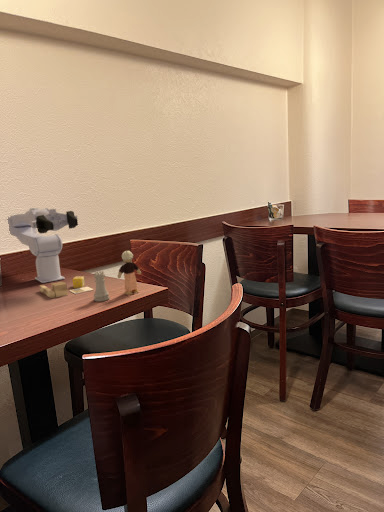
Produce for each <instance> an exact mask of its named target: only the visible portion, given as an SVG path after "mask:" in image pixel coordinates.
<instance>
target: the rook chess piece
mask: <svg viewBox="0 0 384 512" xmlns="http://www.w3.org/2000/svg"><path fill="white" fill-rule="evenodd" d="M105 276H106V273H105V272H104V271H103V270H102V271H101V270H100V271H95V272H94V274H93V278H94V279H95V280H94V282H95V291H94V293H93V300H94V302H98V303H100V302H101V303H102V302H106V301H109V299H110V298H111V296H110V293H109V291H108V290H107V287H106V283H105V281H106V279H105Z"/></svg>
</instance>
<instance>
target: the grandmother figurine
mask: <svg viewBox="0 0 384 512" xmlns="http://www.w3.org/2000/svg"><path fill="white" fill-rule="evenodd" d="M121 259H122V260H123V262H124V264H122V265H121V266H120V268H119V269H118V275H117V278H118V279H121V278H122V275H123V277H124V290H125V291H124V293H123V294H124V295H129V296H130V295H133V294H135V293H137V294H138V293H139V290H138V283H137V278H136V274H135V271H136V273H137V275H142V271H141V270H140V268H139V266H138V265H137V264H136V263H135V262H133V259H134V254H133V253H132V252H131V251H130V250H125V251H123V252H122V254H121Z"/></svg>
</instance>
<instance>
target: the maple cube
mask: <svg viewBox="0 0 384 512" xmlns="http://www.w3.org/2000/svg"><path fill="white" fill-rule="evenodd" d="M50 285H51V290H53V291H54V292H55V298H61V297H65V296H68V295H69V293H68V287H67V283H66V282H64V281H58V282H55V283H54V282H53V283H51V284H50Z"/></svg>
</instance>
